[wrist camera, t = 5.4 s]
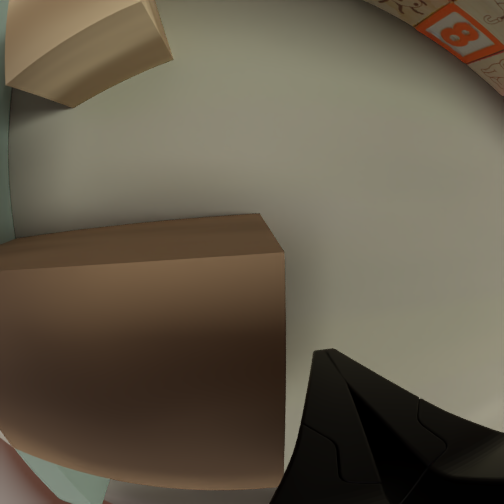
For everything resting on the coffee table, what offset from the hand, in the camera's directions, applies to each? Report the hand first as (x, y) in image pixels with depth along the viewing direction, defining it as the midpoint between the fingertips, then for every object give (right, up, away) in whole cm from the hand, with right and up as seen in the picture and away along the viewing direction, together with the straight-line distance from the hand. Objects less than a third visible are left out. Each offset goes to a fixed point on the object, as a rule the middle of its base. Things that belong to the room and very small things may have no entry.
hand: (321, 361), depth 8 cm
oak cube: (-7, +11, 0) cm, 13 cm away
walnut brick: (-7, +1, +2) cm, 7 cm away
